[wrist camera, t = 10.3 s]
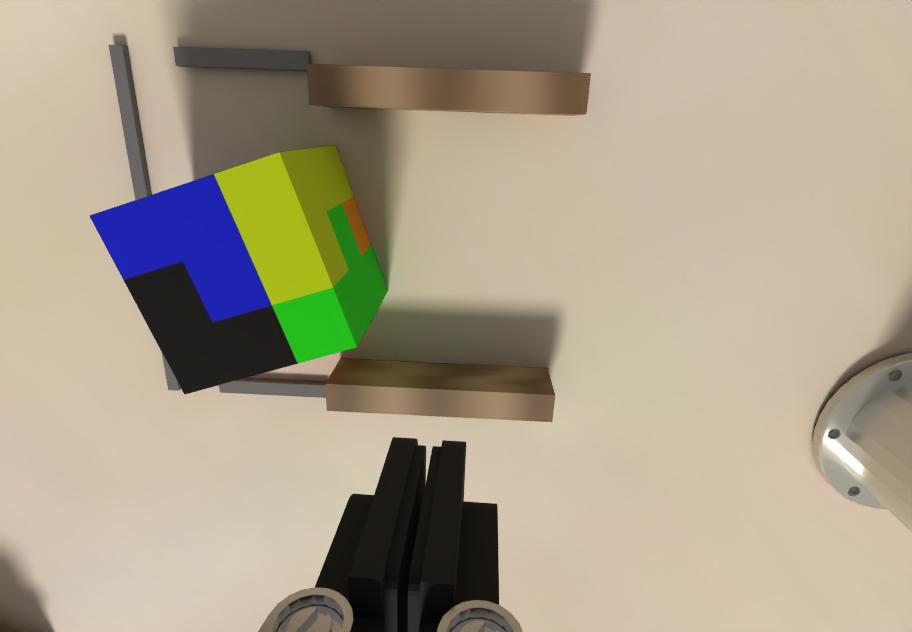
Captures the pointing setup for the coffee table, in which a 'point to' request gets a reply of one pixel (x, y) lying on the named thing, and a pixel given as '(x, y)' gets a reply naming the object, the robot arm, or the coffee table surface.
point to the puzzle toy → (249, 266)
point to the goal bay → (141, 179)
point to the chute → (442, 383)
